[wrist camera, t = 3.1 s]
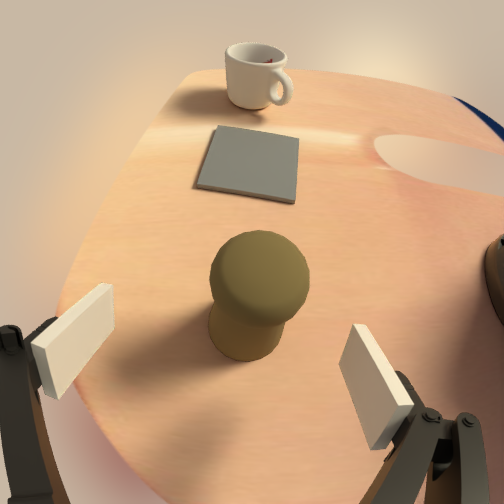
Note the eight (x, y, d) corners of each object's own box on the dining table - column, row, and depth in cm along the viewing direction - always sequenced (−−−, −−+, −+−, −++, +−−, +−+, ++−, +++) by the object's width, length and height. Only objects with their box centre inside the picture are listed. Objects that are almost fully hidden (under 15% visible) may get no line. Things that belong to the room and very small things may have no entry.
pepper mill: (206, 291, 25) (199, 213, 15) (278, 288, 26) (313, 211, 16) (210, 363, 22) (201, 330, 12) (287, 358, 23) (336, 320, 13)
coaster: (298, 142, 35) (299, 138, 35) (294, 203, 30) (295, 200, 30) (217, 129, 35) (217, 125, 34) (197, 187, 30) (196, 183, 29)
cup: (304, 115, 38) (316, 67, 31) (261, 133, 35) (270, 79, 28) (253, 82, 42) (259, 38, 35) (211, 96, 39) (212, 48, 32)
